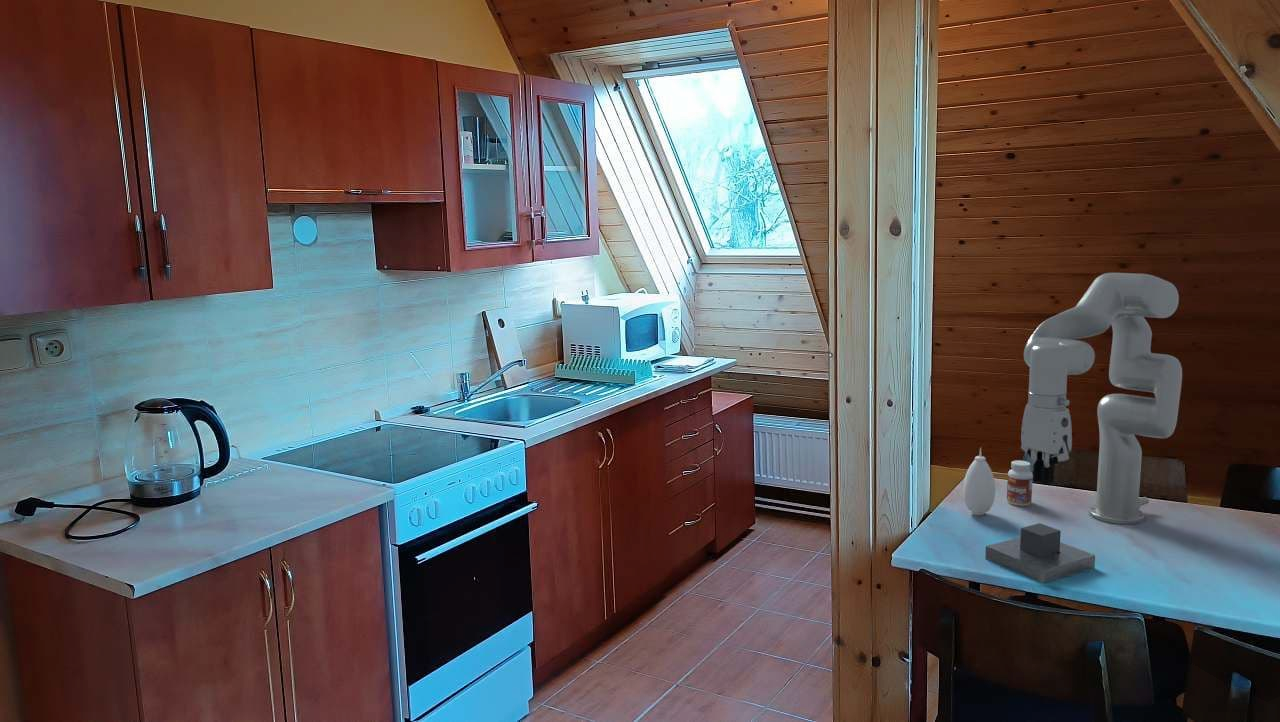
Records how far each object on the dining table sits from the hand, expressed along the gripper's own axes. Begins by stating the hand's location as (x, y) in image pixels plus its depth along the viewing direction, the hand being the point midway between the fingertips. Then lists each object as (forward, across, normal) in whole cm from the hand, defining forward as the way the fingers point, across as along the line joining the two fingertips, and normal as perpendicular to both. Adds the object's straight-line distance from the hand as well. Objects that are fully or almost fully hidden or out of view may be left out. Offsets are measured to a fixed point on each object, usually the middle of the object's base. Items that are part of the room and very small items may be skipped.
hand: (1043, 481), depth 205 cm
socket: (+19, 0, 0) cm, 19 cm away
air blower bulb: (+19, +30, -13) cm, 38 cm away
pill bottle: (+19, +31, -29) cm, 47 cm away
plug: (+19, 0, 0) cm, 19 cm away
